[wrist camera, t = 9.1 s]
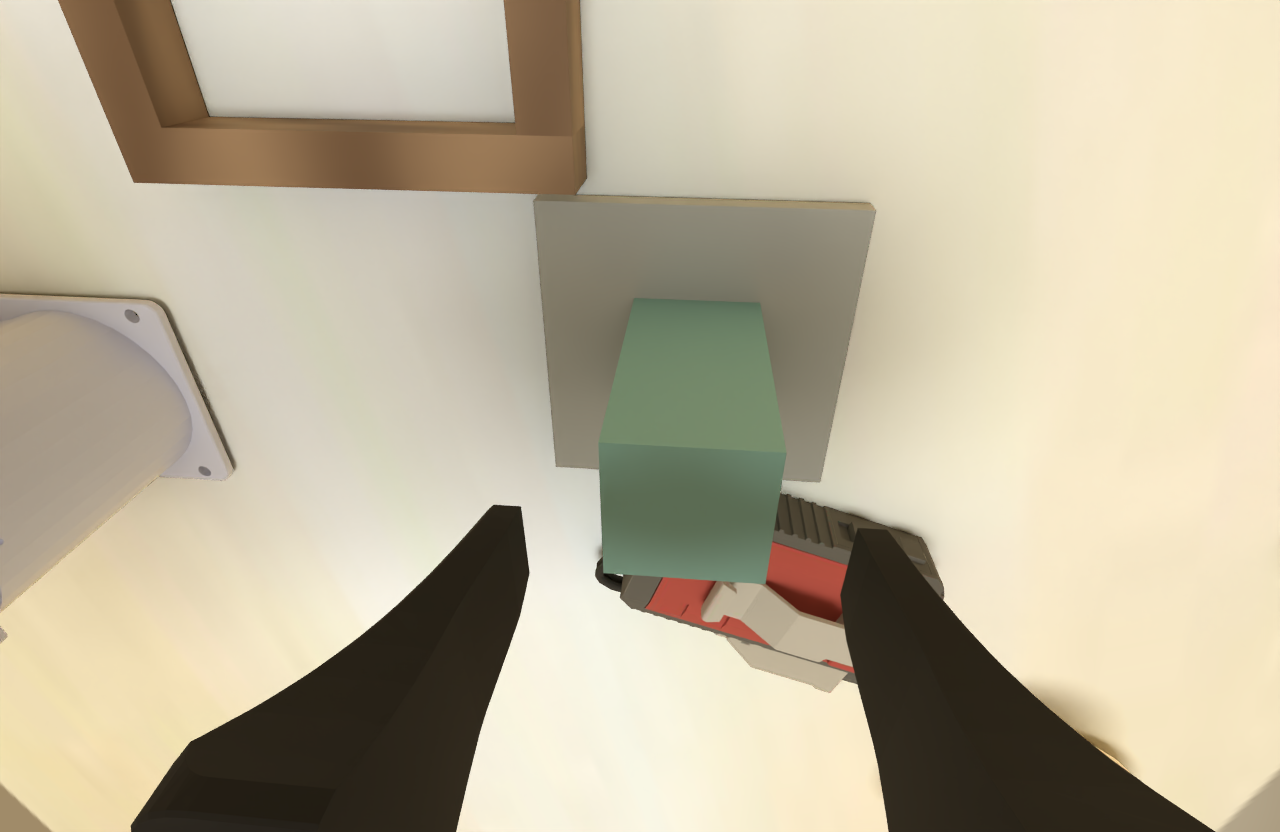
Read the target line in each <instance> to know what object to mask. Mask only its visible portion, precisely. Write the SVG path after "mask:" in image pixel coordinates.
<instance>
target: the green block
mask: <svg viewBox="0 0 1280 832" xmlns="http://www.w3.org/2000/svg"><path fill="white" fill-rule="evenodd" d="M598 448H599V473H600V498H601V523H602V548H603V573H611V574H625V575H640V576H654V577H668V578H682V579H697V580H711V581H725V582H740V583H754V584H765V583H766V577H767V571H768V565H769V559H770V552H771V546H772V540H773V534H774V528H775V521H776V515H777V509H778V503H779V497H780V491H781V484H782V478H783V472H784V466H785V460H786V453H787V452H786V447H785V441H784V435H783V430H782V424H781V418H780V413H779V407H778V401H777V396H776V390H775V384H774V379H773V373H772V367H771V362H770V356H769V350H768V345H767V339H766V333H765V328H764V322H763V316H762V311H761V305H760V303H752V302H726V301H700V300H674V299H647V298H634V300H633V304H632V309H631V313H630V317H629V321H628V325H627V329H626V333H625V337H624V341H623V345H622V349H621V353H620V357H619V361H618V365H617V369H616V373H615V377H614V381H613V385H612V389H611V393H610V397H609V401H608V405H607V409H606V413H605V417H604V421H603V425H602V430H601V434H600V438H599V442H598Z"/></svg>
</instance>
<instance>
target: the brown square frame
mask: <svg viewBox="0 0 1280 832" xmlns="http://www.w3.org/2000/svg"><path fill="white" fill-rule="evenodd" d="M58 1H59V4H60V6H61V9H62V11H63V13H64V16H65V18H66V21H67V23H68V25H69V28H70V30H71V33H72V35H73V37H74V40H75V42H76V45H77V47H78V49H79V52H80V54H81V57H82V59H83V61H84V64H85V66H86V69H87V71H88V74H89V76H90V78H91V81H92V83H93V86H94V88H95V90H96V93H97V95H98V98H99V100H100V102H101V105H102V107H103V110H104V112H105V114H106V117H107V119H108V122H109V124H110V126H111V129H112V131H113V134H114V136H115V138H116V141H117V143H118V146H119V148H120V150H121V153H122V155H123V158H124V160H125V163H126V165H127V167H128V170H129V172H130V175H131V177H132V179H133V182H134V183H167V184H202V185H238V186H274V187H309V188H345V189H381V190H416V191H452V192H488V193H523V194H559V195H576V193H577V192H578V190H579V189H580V187H581V186H582V184H583V183H584V181H585V180H586V179H587V173H586V147H585V122H584V96H583V71H582V45H581V20H580V0H504V8H505V19H506V30H507V40H508V51H509V61H510V72H511V83H512V93H513V104H514V115H515V123H493V122H443V121H393V120H343V119H293V118H243V117H209V116H208V113H207V110H206V107H205V104H204V101H203V98H202V95H201V92H200V89H199V86H198V83H197V80H196V77H195V74H194V71H193V68H192V65H191V62H190V59H189V56H188V53H187V50H186V47H185V44H184V41H183V38H182V35H181V32H180V29H179V26H178V23H177V20H176V17H175V14H174V11H173V8H172V5H171V2H170V0H58Z"/></svg>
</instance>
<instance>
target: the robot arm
mask: <svg viewBox="0 0 1280 832" xmlns="http://www.w3.org/2000/svg"><path fill="white" fill-rule="evenodd" d="M133 311H134V312H136V313H137V315H138V316H139V317H138V316H137V315H136V314H135V313H134V312H133ZM232 473H233V467H232V465H231V462H230V460H229V458H228V456H227V453H226V451H225V449H224V446H223V444H222V442H221V440H220V437H219V435H218V433H217V430H216V428H215V426H214V424H213V421H212V419H211V417H210V414H209V412H208V410H207V408H206V405H205V403H204V401H203V398H202V396H201V394H200V392H199V389H198V387H197V385H196V382H195V380H194V378H193V376H192V373H191V371H190V369H189V366H188V364H187V362H186V360H185V357H184V355H183V353H182V350H181V348H180V346H179V344H178V341H177V339H176V337H175V334H174V332H173V330H172V328H171V325H170V323H169V321H168V318H167V316H166V314H165V312H164V310H163V309H162V308H161V307H160V306H159V305H158V304H156V303H155V302H153V301H149V300H137V299H114V298H90V297H66V296H42V295H19V294H0V613H1V612H2V611H3V610H4V609H5V608H7V607H8V606H9V605H10V604H11V603H12V602H13V601H15V600H16V599H17V598H18V597H19V596H20V595H22V594H23V593H24V592H25V591H26V590H27V589H29V588H30V587H31V586H32V585H33V584H34V583H36V582H37V581H38V580H39V579H40V578H41V577H42V576H44V575H45V574H46V573H47V572H48V571H49V570H51V569H52V568H53V567H54V566H55V565H56V564H58V563H59V562H60V561H61V560H62V559H63V558H65V557H66V556H67V555H68V554H69V553H70V552H71V551H73V550H74V549H75V548H76V547H77V546H78V545H80V544H81V543H82V542H83V541H84V540H85V539H87V538H88V537H89V536H90V535H91V534H92V533H93V532H95V531H96V530H97V529H98V528H99V527H100V526H102V525H103V524H104V523H105V522H106V521H107V520H109V519H110V518H111V517H112V516H113V515H114V514H116V513H117V512H118V511H119V510H120V509H121V508H122V507H124V506H125V505H126V504H127V503H128V502H129V501H131V500H132V499H133V498H134V497H135V496H136V495H138V494H139V493H140V492H141V491H142V490H143V489H145V488H146V487H147V486H148V485H149V484H150V483H151V482H153V481H154V480H155V479H156V478H157V477H173V478H188V479H204V480H220V481H222V480H226V479H228V478H229V477H230V476H231V475H232ZM528 577H529V566H528V558H527V550H526V542H525V535H524V527H523V519H522V511H521V507H519V506H504V505H493V506H492V507H491V508H489V509H488V511H487V512H486V513H485V514H484V515H483V516H482V517H481V519H480V520H479V521H478V522H477V523H476V524H475V526H474V527H473V528H472V529H471V530H470V531H469V532H468V533H467V535H466V536H465V537H464V538H463V539H462V540H461V541H460V542H459V543H458V545H457V546H456V547H455V548H454V549H453V550H452V551H451V552H450V553H449V554H448V555H447V556H446V557H445V558H444V559H443V561H442V562H441V563H440V564H439V565H438V566H437V567H436V568H435V569H434V570H433V571H432V572H431V573H430V574H429V575H428V576H427V577H426V578H425V579H424V580H423V581H422V582H421V583H420V584H419V585H418V586H417V587H416V588H415V589H414V590H412V591H411V592H410V593H409V594H408V595H407V596H406V597H405V598H404V599H403V600H402V601H401V602H400V603H399V604H398V605H397V606H395V607H394V608H393V609H392V610H391V611H390V612H389V613H388V614H386V615H385V616H384V617H383V618H382V619H381V620H379V621H378V622H377V623H376V624H375V625H373V626H372V627H371V628H370V629H368V630H367V631H366V632H365V633H364V634H362V635H361V636H360V637H359V638H357V639H356V640H355V641H353V642H352V643H351V644H349V645H348V646H347V647H345V648H344V649H343V650H341V651H340V652H339V653H337V654H336V655H334V656H333V657H332V658H330V659H329V660H327V661H326V662H325V663H323V664H322V665H321V666H319V667H318V668H316V669H315V670H313V671H312V672H311V673H309V674H308V675H306V676H304V677H303V678H301V679H300V680H298V681H297V682H295V683H293V684H292V685H290V686H289V687H287V688H286V689H284V690H282V691H281V692H279V693H278V694H276V695H274V696H273V697H271V698H269V699H268V700H266V701H264V702H263V703H261V704H259V705H258V706H256V707H254V708H252V709H251V710H249V711H247V712H245V713H243V714H242V715H240V716H238V717H236V718H234V719H232V720H231V721H229V722H227V723H225V724H223V725H221V726H219V727H218V728H216V729H214V730H212V731H210V732H208V733H207V734H205V735H203V736H201V737H199V738H197V739H195V740H193V741H191V742H190V743H189V744H188V745H187V747H186V748H185V749H184V751H183V752H182V753H181V754H180V756H179V757H178V758H177V760H176V761H175V762H174V763H173V765H172V766H171V768H170V769H169V771H168V772H167V773H166V775H165V776H164V778H163V779H162V781H161V782H160V784H159V785H158V787H157V788H156V790H155V791H154V793H153V794H152V795H151V797H150V798H149V800H148V801H147V803H146V804H145V806H144V807H143V809H142V810H141V811H140V813H139V814H138V816H137V817H136V819H135V820H134V822H133V823H132V825H131V832H456V830H457V825H458V821H459V816H460V812H461V808H462V804H463V799H464V795H465V791H466V786H467V782H468V778H469V774H470V770H471V766H472V762H473V758H474V754H475V750H476V746H477V742H478V738H479V734H480V730H481V727H482V724H483V720H484V717H485V714H486V711H487V708H488V705H489V702H490V699H491V697H492V694H493V691H494V688H495V685H496V683H497V680H498V677H499V674H500V671H501V668H502V666H503V663H504V660H505V657H506V654H507V652H508V649H509V646H510V643H511V640H512V637H513V634H514V632H515V629H516V626H517V623H518V620H519V617H520V613H521V609H522V605H523V600H524V596H525V591H526V587H527V582H528ZM840 597H841V605H842V613H843V621H844V628H845V635H846V641H847V645H848V649H849V653H850V657H851V661H852V665H853V669H854V673H855V677H856V680H857V684H858V688H859V692H860V695H861V699H862V703H863V707H864V711H865V714H866V718H867V722H868V726H869V729H870V733H871V737H872V741H873V745H874V749H875V754H876V758H877V763H878V768H879V774H880V780H881V786H882V792H883V798H884V804H885V810H886V817H887V823H888V830H889V832H1215V831H1213V830H1212V829H1210V828H1209V827H1207V826H1206V825H1204V824H1203V823H1202V822H1200V821H1199V820H1197V819H1196V818H1194V817H1193V816H1191V815H1190V814H1188V813H1187V812H1185V811H1184V810H1182V809H1181V808H1179V807H1178V806H1176V805H1175V804H1173V803H1172V802H1170V801H1169V800H1167V799H1166V798H1164V797H1163V796H1161V795H1160V794H1158V793H1157V792H1155V791H1154V790H1152V789H1151V788H1150V787H1148V786H1147V785H1145V784H1144V783H1143V782H1141V781H1140V780H1139V779H1137V778H1136V777H1135V776H1133V775H1132V774H1131V773H1129V772H1128V771H1126V770H1125V769H1124V768H1122V767H1121V766H1120V765H1118V764H1117V763H1116V762H1114V761H1113V760H1112V759H1110V758H1109V757H1108V756H1106V755H1105V754H1104V753H1102V752H1101V751H1100V750H1099V749H1097V748H1096V747H1095V746H1093V745H1092V744H1091V743H1090V742H1088V741H1087V740H1086V739H1085V738H1083V737H1082V736H1081V735H1080V734H1079V733H1077V732H1076V731H1075V730H1074V729H1073V728H1071V727H1070V726H1069V725H1068V724H1067V723H1065V722H1064V721H1063V720H1062V719H1061V718H1059V717H1058V716H1057V715H1056V714H1055V713H1053V712H1052V711H1051V710H1050V709H1049V708H1048V707H1046V706H1045V705H1044V704H1043V703H1042V702H1041V701H1040V700H1038V699H1037V698H1036V697H1035V696H1034V695H1033V694H1032V693H1031V692H1030V691H1029V690H1028V689H1026V688H1025V687H1024V686H1023V685H1022V684H1021V683H1020V682H1019V681H1018V680H1017V679H1016V678H1015V677H1014V676H1013V675H1012V674H1011V673H1010V672H1008V671H1007V670H1006V669H1005V668H1004V667H1003V666H1002V665H1001V664H1000V663H999V662H998V661H997V660H996V659H995V658H994V657H993V656H992V655H991V654H990V653H989V652H988V650H987V649H986V648H985V647H984V646H983V645H982V644H981V643H980V642H979V641H978V640H977V639H976V637H975V636H974V635H973V634H972V633H971V632H970V631H969V630H968V629H967V628H966V626H965V625H964V624H963V623H962V622H961V621H960V620H959V619H958V617H957V616H956V615H955V614H954V613H953V611H952V610H951V609H950V608H949V607H948V605H947V604H946V603H945V602H944V601H943V600H942V598H941V597H940V596H939V595H938V594H937V592H936V591H935V590H934V589H933V587H932V586H931V585H930V584H929V582H928V581H927V580H926V579H925V577H924V576H923V575H922V574H921V572H920V571H919V570H918V568H917V567H916V566H915V565H914V563H913V562H912V561H911V559H910V558H909V557H908V555H907V554H906V553H905V551H904V550H903V549H902V548H901V546H900V545H899V544H898V542H897V541H896V540H895V538H894V537H893V536H892V534H891V533H890V532H889V531H888V530H884V529H868V528H857V532H856V536H855V540H854V544H853V547H852V551H851V555H850V559H849V563H848V567H847V570H846V574H845V578H844V582H843V586H842V590H841V593H840ZM6 638H7V633H6V632H5V631H4V630H3V629H2V628H1V626H0V643H1V642H3V641H4V640H5V639H6Z"/></svg>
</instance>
